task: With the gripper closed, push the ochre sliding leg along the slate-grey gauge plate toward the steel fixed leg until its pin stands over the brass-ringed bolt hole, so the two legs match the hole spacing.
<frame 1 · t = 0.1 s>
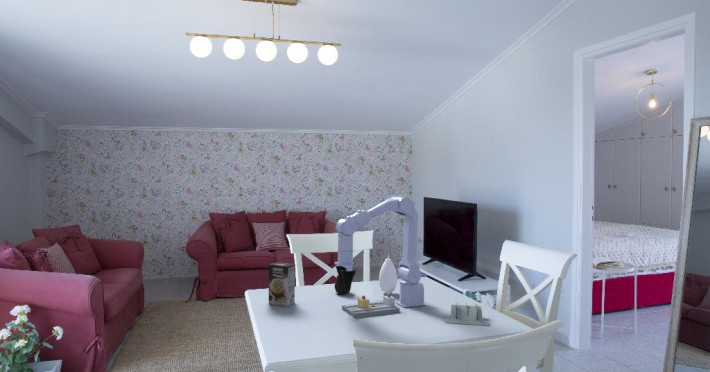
hand: (345, 286, 183), 10 cm above the table, tool pointing down, fingers open, 7 cm apart
mate gourd: (343, 293, 212), on the table
gauge plate: (370, 310, 186), on the table
metal bracket: (466, 321, 176), on the table
white air blower bulb: (387, 294, 211), on the table
slider: (363, 301, 185), point 4 cm above the table, slide at 0.0 cm
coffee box: (281, 303, 195), on the table
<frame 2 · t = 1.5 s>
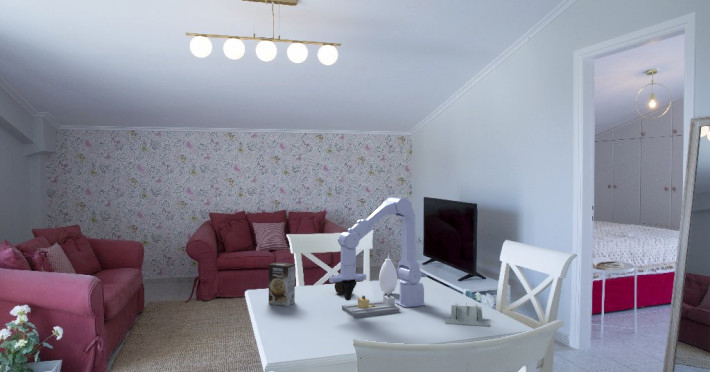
hand: (347, 299, 182), 5 cm above the table, tool pointing down, fingers closed
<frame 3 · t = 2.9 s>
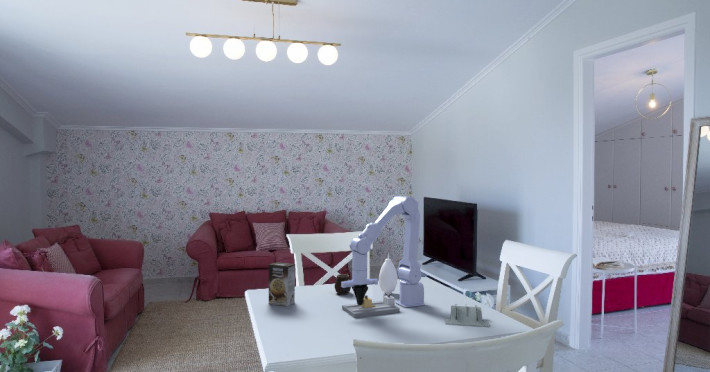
hand: (359, 304, 184), 3 cm above the table, tool pointing down, fingers closed
slider: (366, 301, 185), point 4 cm above the table, slide at 1.1 cm, touching gripper
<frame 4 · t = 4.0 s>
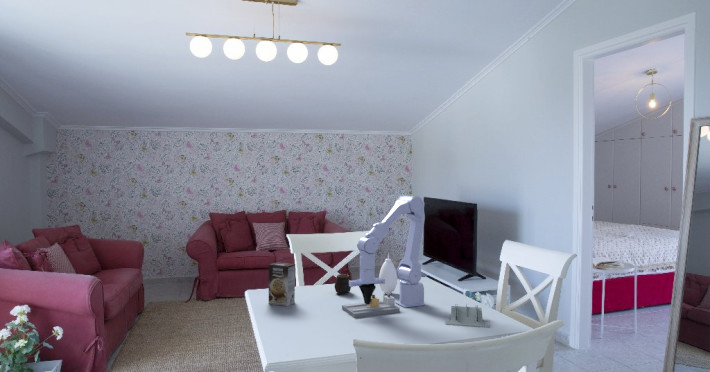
hand: (367, 303, 185), 3 cm above the table, tool pointing down, fingers closed
slider: (373, 300, 186), point 4 cm above the table, slide at 4.2 cm, touching gripper
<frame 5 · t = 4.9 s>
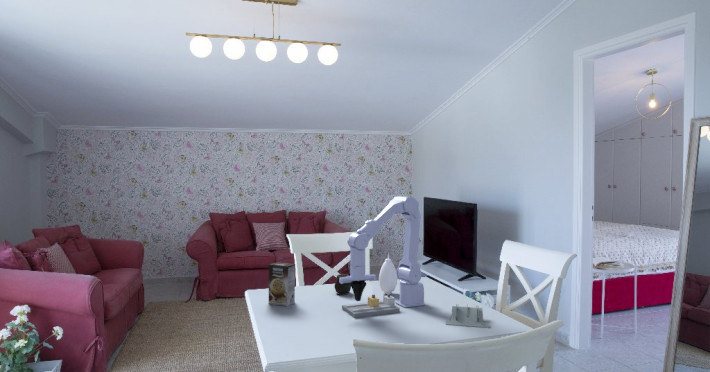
hand: (357, 300, 184), 5 cm above the table, tool pointing down, fingers closed
slider: (373, 300, 186), point 4 cm above the table, slide at 4.2 cm
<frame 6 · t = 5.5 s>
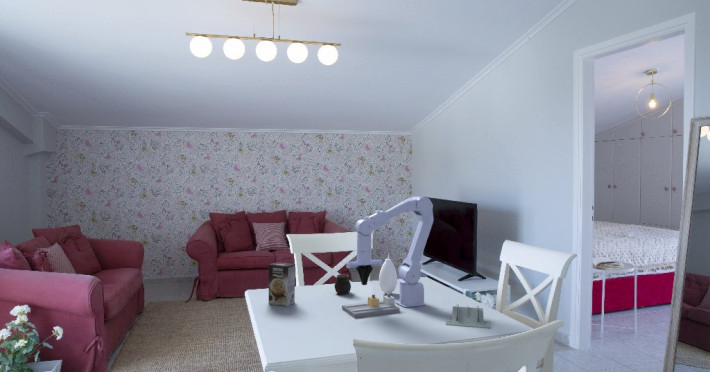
hand: (364, 284, 189), 9 cm above the table, tool pointing down, fingers closed
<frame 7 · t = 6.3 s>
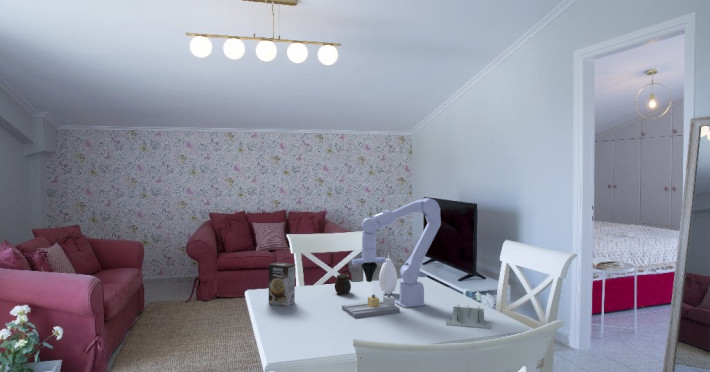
hand: (368, 281, 194), 9 cm above the table, tool pointing down, fingers closed
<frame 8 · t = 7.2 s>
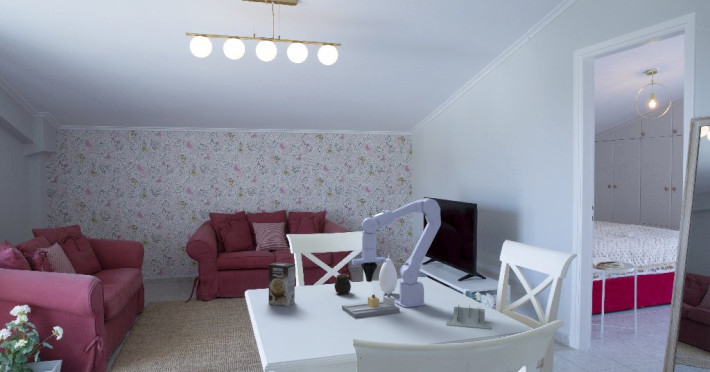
hand: (368, 281, 194), 9 cm above the table, tool pointing down, fingers closed
at the end: slider slide at 4.2 cm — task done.
